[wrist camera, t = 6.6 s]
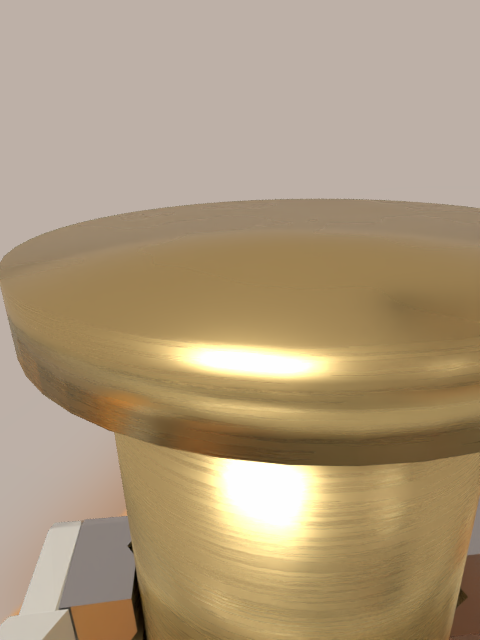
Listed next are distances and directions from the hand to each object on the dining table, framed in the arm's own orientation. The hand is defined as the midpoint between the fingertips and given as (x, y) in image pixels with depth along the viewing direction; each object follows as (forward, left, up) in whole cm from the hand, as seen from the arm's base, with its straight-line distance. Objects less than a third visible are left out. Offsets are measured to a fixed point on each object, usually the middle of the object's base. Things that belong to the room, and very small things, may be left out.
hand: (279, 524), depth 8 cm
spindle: (0, +1, -7) cm, 7 cm away
